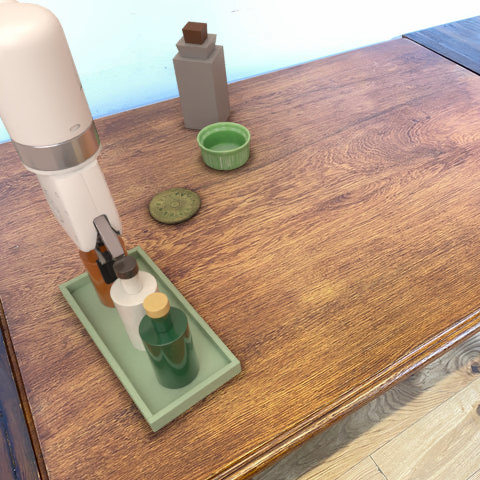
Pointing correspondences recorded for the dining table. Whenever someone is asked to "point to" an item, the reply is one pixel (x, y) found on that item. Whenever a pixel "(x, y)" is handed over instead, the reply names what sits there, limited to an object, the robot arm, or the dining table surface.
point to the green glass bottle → (168, 342)
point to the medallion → (174, 205)
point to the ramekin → (224, 145)
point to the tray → (137, 362)
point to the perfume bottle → (201, 77)
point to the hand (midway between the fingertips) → (106, 262)
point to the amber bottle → (99, 273)
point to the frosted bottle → (131, 296)
